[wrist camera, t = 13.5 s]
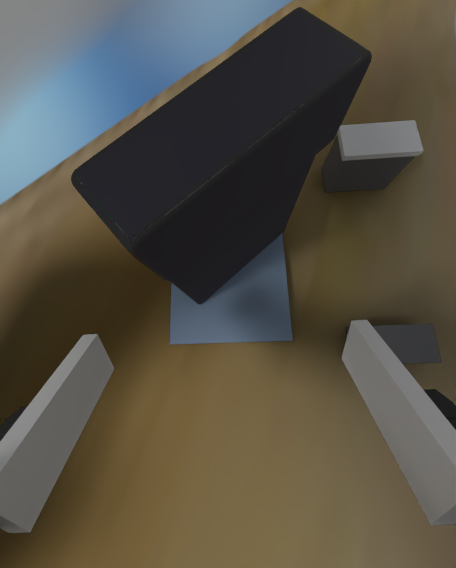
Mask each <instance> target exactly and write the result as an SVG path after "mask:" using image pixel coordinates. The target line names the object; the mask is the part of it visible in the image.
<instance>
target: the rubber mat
mask: <svg viewBox="0 0 456 568" xmlns="http://www.w3.org/2000/svg"><path fill="white" fill-rule="evenodd" d="M262 341H293V338H292V328H291V317H290V307H289V296H288V286H287V276H286V265H285V255H284V244H283V234H281V235H280V236H278V237H277V238H276V239H275V240H274V241H273V242H272V243H270V244H269V245H268V246H267V247H266V248H265V249H264V250H263V251H261V252H260V253H259V254H258V255H257V256H256V257H255V258H253V259H252V260H251V261H250V262H249V263H248V264H247V265H246V266H244V267H243V268H242V269H241V270H240V271H239V272H238V273H237V274H235V275H234V276H233V277H232V278H231V279H230V280H229V281H227V282H226V283H225V284H224V285H223V286H222V287H221V288H220V289H218V290H217V291H216V292H215V293H214V294H213V295H212V296H210V297H209V298H208V299H207V300H206V301H205V302H204V303H202V304H201V305H199V304H197V303H196V302H195V301H194V300H192V299H191V298H190V297H189V296H187V295H186V294H185V293H184V292H182V291H181V290H180V289H179V288H177V287H176V286H175V285H174V284H172V283H171V317H170V344H199V343H230V342H262Z"/></svg>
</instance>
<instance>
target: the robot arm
mask: <svg viewBox="0 0 456 568" xmlns="http://www.w3.org/2000/svg"><path fill="white" fill-rule="evenodd" d="M342 360H343V362H344V364H345V366H346V368H347V370H348V372H349V373H350V375H351V377H352V379H353V381H354V383H355V385H356V386H357V388H358V390H359V392H360V394H361V396H362V398H363V400H364V401H365V403H366V405H367V407H368V409H369V411H370V413H371V415H372V416H373V418H374V420H375V422H376V424H377V426H378V428H379V429H380V431H381V433H382V435H383V437H384V439H385V441H386V443H387V444H388V446H389V448H390V450H391V452H392V454H393V456H394V457H395V459H396V461H397V463H398V465H399V467H400V469H401V471H402V472H403V474H404V476H405V478H406V480H407V482H408V484H409V485H410V487H411V489H412V491H413V493H414V495H415V497H416V499H417V500H418V502H419V504H420V506H421V508H422V510H423V512H424V513H425V515H426V517H427V519H428V521H429V523H430V525H451V524H456V406H455V405H454V403H453V402H452V401H450V400H449V399H448V398H446V397H445V396H444V395H442V394H441V393H440V392H438V391H437V390H436V389H430V390H423V389H422V388H421V386H420V385H419V384H418V383H417V381H416V380H415V379H414V378H413V376H412V375H411V374H410V373H409V371H408V370H407V369H406V368H405V366H404V365H403V364H402V363H401V361H400V360H399V359H398V358H397V356H396V355H395V354H394V353H393V352H392V350H391V349H390V348H389V347H388V345H387V344H386V343H385V342H384V340H383V339H382V338H381V337H380V335H379V334H378V333H377V332H376V330H375V329H374V328H373V327H372V325H371V324H370V323H369V322H368V320H353V321H351V324H350V328H349V332H348V335H347V339H346V343H345V346H344V350H343V354H342ZM113 371H114V367H113V365H112V363H111V361H110V359H109V357H108V355H107V352H106V350H105V348H104V346H103V344H102V342H101V340H100V338H99V336H98V334H87V335H83V336H82V337H81V338H80V339H79V341H78V342H77V343H76V345H75V346H74V347H73V349H72V350H71V351H70V352H69V354H68V355H67V356H66V358H65V359H64V360H63V361H62V363H61V364H60V365H59V367H58V368H57V369H56V370H55V372H54V373H53V374H52V376H51V377H50V378H49V379H48V381H47V382H46V383H45V385H44V386H43V387H42V388H41V390H40V391H39V392H38V394H37V395H36V396H35V397H34V399H33V400H32V401H31V403H30V404H29V405H28V407H20V408H19V409H18V410H17V411H16V412H15V413H13V414H12V415H11V416H10V417H9V418H8V419H6V421H5V422H4V423H3V424H2V425H1V427H0V529H2V530H4V531H6V532H8V533H30V532H31V530H32V528H33V526H34V524H35V522H36V520H37V518H38V516H39V514H40V513H41V511H42V509H43V507H44V505H45V503H46V501H47V499H48V497H49V495H50V493H51V491H52V489H53V487H54V485H55V483H56V481H57V479H58V478H59V476H60V474H61V472H62V470H63V468H64V466H65V464H66V462H67V460H68V458H69V456H70V454H71V452H72V450H73V448H74V446H75V445H76V443H77V441H78V439H79V437H80V435H81V433H82V431H83V429H84V427H85V425H86V423H87V421H88V419H89V417H90V415H91V413H92V412H93V410H94V408H95V406H96V404H97V402H98V400H99V398H100V396H101V394H102V392H103V390H104V388H105V386H106V384H107V382H108V380H109V378H110V377H111V375H112V373H113Z"/></svg>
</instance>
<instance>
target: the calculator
mask: <svg viewBox="0 0 456 568" xmlns="http://www.w3.org/2000/svg"><path fill="white" fill-rule="evenodd" d="M371 58H372V55H371V52H370V51H368V50H367V49H365V48H364V47H362V46H361V45H359V44H358V43H356V42H355V41H353V40H352V39H350V38H349V37H347V36H345V35H344V34H342V33H341V32H339V31H338V30H336V29H334V28H333V27H331V26H330V25H328V24H327V23H325V22H324V21H322V20H320V19H319V18H317V17H316V16H314V15H313V14H311V13H309V12H308V11H306V10H305V9H303V8H301V7H299V8H297V9H295V10H293V11H292V12H291V13H289V14H288V15H286V16H285V17H284V18H282V19H281V20H280V21H278V22H277V23H275V24H274V25H273V26H271V27H270V28H269V29H267V30H266V31H264V32H263V33H262V34H260V35H259V36H258V37H256V38H255V39H253V40H252V41H251V42H249V43H248V44H247V45H245V46H244V47H243V48H241V49H240V50H238V51H237V52H236V53H234V54H233V55H232V56H230V57H229V58H227V59H226V60H225V61H223V62H222V63H221V64H219V65H218V66H216V67H215V68H214V69H212V70H211V71H210V72H208V73H207V74H205V75H204V76H203V77H201V78H200V79H199V80H197V81H196V82H195V83H193V84H192V85H190V86H189V87H188V88H186V89H185V90H184V91H182V92H181V93H179V94H178V95H177V96H175V97H174V98H173V99H171V100H170V101H168V102H167V103H166V104H164V105H163V106H162V107H160V108H159V109H157V110H156V111H155V112H153V113H152V114H151V115H149V116H148V117H147V118H145V119H144V120H142V121H141V122H140V123H138V124H137V125H136V126H134V127H133V128H131V129H130V130H129V131H127V132H126V133H125V134H123V135H122V136H120V137H119V138H118V139H116V140H115V141H114V142H112V143H111V144H109V145H108V146H107V147H105V148H104V149H103V150H101V151H100V152H98V153H97V154H96V155H94V156H93V157H92V158H90V159H89V160H88V161H86V162H85V163H83V164H82V165H81V166H80V167H78V168H77V169H76V170H75V171H74V172H73V174H72V177H71V181H72V184H73V186H74V187H75V188H76V190H77V191H78V192H79V193H80V194H81V196H82V197H83V198H84V199H85V200H86V202H87V203H88V204H89V205H90V206H91V208H92V209H93V210H94V211H95V212H96V214H97V215H98V216H99V217H100V218H101V220H102V221H103V222H104V223H105V224H106V225H107V227H108V228H109V229H110V230H111V231H112V233H113V234H114V235H115V236H116V237H117V239H118V240H119V241H120V242H121V243H122V244H123V246H124V247H125V248H126V249H127V250H128V251H129V252H130V254H131V255H133V256H134V257H135V258H136V259H138V260H139V261H140V262H142V263H143V264H144V265H145V266H147V267H148V268H149V269H151V270H152V271H153V272H155V273H156V274H157V275H159V276H160V277H161V278H163V279H164V280H169V281H170V282H171V283H172V284H174V285H175V286H176V287H177V288H179V289H180V290H181V291H182V292H184V293H185V294H186V295H187V296H189V297H190V298H191V299H192V300H194V301H195V302H196V303H197V304H199V305H201V304H202V303H204V302H205V301H206V300H207V299H208V298H209V297H210V296H212V295H213V294H214V293H215V292H216V291H217V290H218V289H220V288H221V287H222V286H223V285H224V284H225V283H226V282H227V281H229V280H230V279H231V278H232V277H233V276H234V275H235V274H237V273H238V272H239V271H240V270H241V269H242V268H243V267H244V266H246V265H247V264H248V263H249V262H250V261H251V260H252V259H253V258H255V257H256V256H257V255H258V254H259V253H260V252H261V251H263V250H264V249H265V248H266V247H267V246H268V245H269V244H270V243H272V242H273V241H274V240H275V239H276V238H277V237H278V236H280V235H281V234H282V233H283V231H284V229H285V227H286V225H287V222H288V220H289V217H290V215H291V213H292V210H293V208H294V205H295V203H296V200H297V198H298V196H299V193H300V191H301V188H302V186H303V184H304V181H305V179H306V176H307V174H308V172H309V169H310V167H311V164H312V162H313V160H314V157H315V155H316V154H317V153H318V152H319V151H321V150H322V149H323V148H324V147H325V146H327V145H328V144H329V143H330V142H331V141H332V140H333V139H334V138H335V136H336V134H337V132H338V130H339V127H340V125H341V123H342V121H343V119H344V117H345V115H346V113H347V111H348V109H349V106H350V104H351V102H352V100H353V98H354V96H355V94H356V92H357V90H358V88H359V85H360V83H361V81H362V79H363V77H364V75H365V73H366V71H367V68H368V66H369V64H370V62H371Z"/></svg>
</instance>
